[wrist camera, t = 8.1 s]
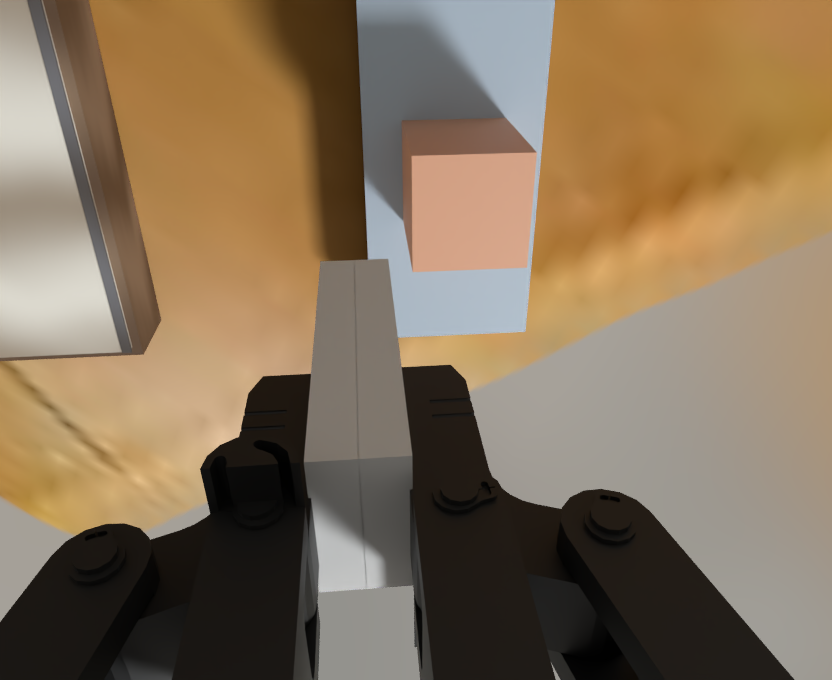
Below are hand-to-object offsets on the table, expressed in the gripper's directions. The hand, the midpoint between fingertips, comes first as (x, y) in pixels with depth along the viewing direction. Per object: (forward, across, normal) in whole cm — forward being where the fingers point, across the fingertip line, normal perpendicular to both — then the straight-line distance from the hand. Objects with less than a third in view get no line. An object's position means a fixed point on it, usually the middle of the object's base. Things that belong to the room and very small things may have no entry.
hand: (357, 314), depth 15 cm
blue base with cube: (+16, +4, -1) cm, 16 cm away
